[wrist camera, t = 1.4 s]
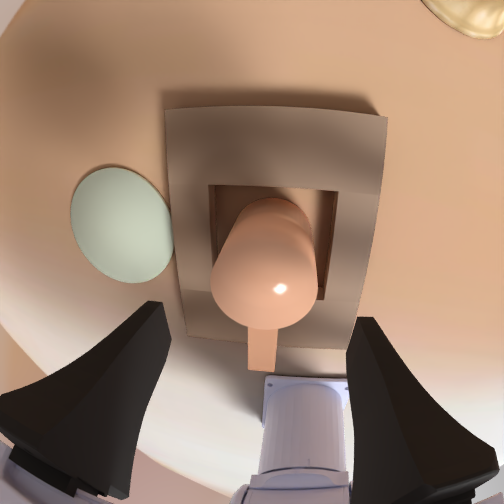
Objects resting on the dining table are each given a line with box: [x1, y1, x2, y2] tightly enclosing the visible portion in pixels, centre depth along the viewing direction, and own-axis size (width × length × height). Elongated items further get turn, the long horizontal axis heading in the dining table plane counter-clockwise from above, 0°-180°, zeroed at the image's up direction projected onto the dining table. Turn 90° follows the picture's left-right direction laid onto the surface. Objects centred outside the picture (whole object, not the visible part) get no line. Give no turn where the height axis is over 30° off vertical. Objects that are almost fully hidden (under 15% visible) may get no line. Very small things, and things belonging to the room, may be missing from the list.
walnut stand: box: [165, 106, 388, 349], centre depth 18 cm, size 16×12×2 cm
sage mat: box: [71, 167, 175, 283], centre depth 20 cm, size 9×9×1 cm
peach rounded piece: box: [210, 198, 318, 372], centre depth 17 cm, size 9×5×6 cm, turn 179°
